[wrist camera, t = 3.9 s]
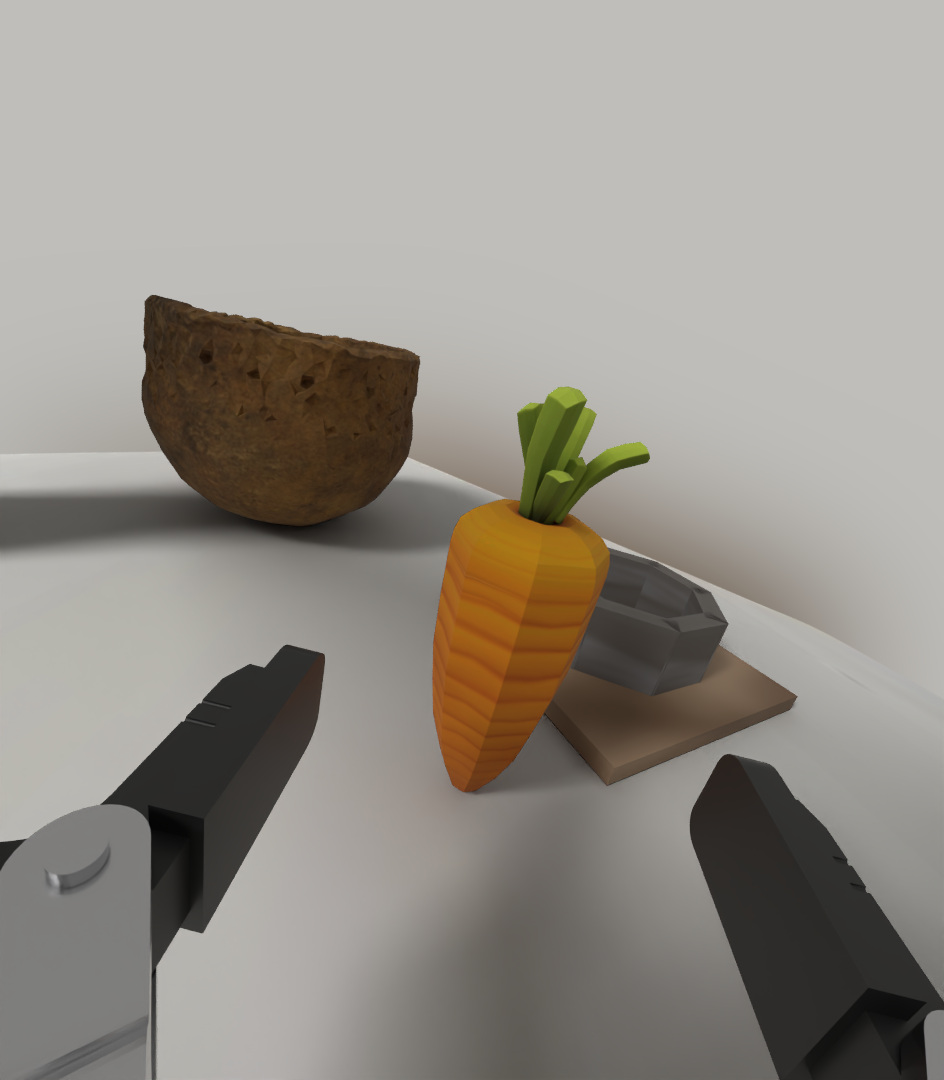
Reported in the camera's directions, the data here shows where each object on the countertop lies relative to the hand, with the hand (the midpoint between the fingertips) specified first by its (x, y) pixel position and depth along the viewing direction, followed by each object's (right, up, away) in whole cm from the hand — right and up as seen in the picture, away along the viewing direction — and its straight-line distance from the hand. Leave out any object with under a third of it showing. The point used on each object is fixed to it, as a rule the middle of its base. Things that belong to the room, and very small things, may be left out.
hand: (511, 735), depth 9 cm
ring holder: (+8, -3, +21) cm, 22 cm away
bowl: (-16, +6, +29) cm, 34 cm away
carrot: (-1, -6, +9) cm, 11 cm away
